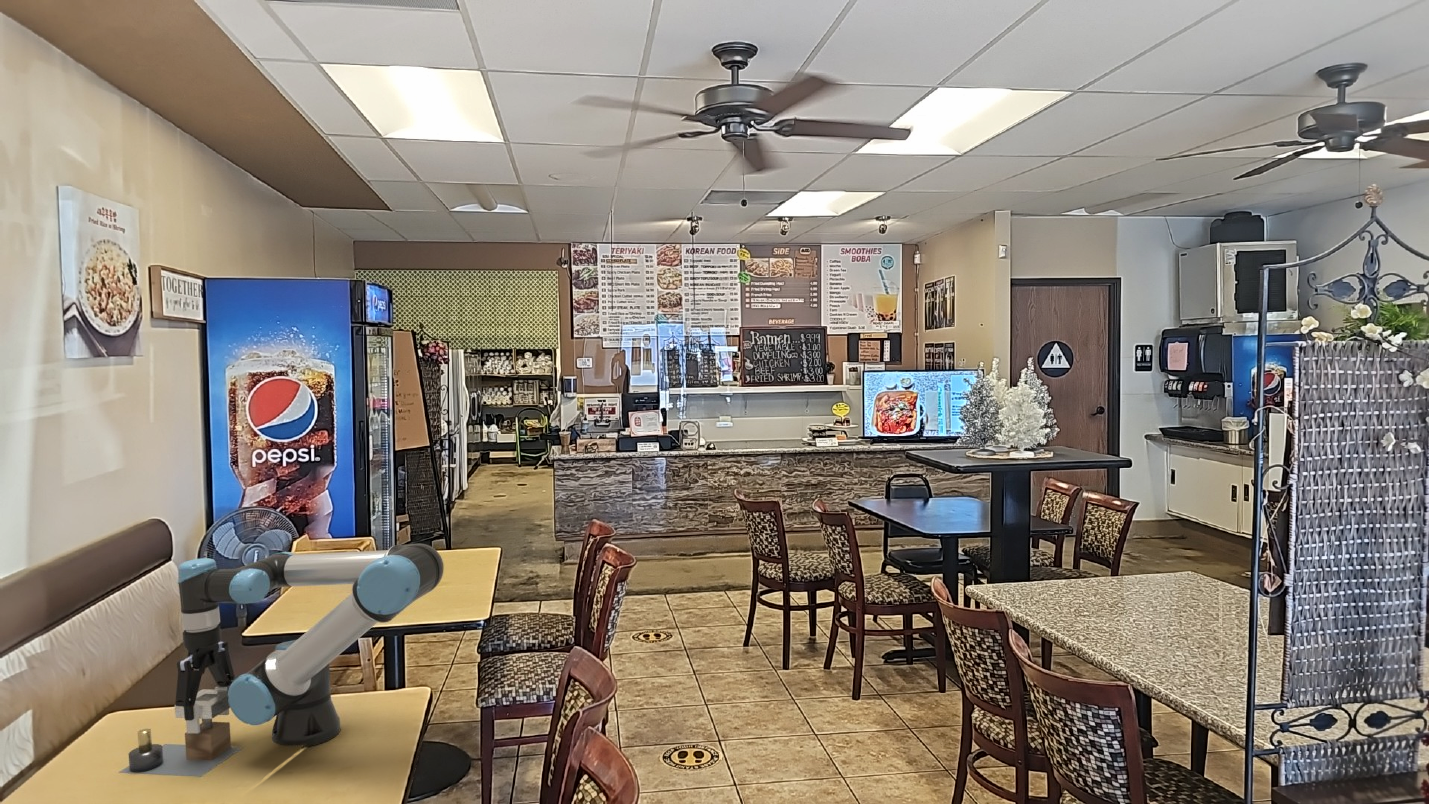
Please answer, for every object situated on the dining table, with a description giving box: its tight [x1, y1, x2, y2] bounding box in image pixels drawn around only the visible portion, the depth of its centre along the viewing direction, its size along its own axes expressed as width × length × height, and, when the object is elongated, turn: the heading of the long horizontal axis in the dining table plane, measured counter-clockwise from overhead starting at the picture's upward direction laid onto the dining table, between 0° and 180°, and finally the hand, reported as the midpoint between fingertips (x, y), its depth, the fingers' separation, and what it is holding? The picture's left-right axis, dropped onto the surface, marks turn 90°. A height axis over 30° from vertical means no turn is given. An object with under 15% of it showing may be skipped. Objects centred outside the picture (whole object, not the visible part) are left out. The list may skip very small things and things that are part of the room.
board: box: [118, 743, 243, 778], centre depth 202 cm, size 20×14×1 cm
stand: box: [184, 718, 232, 760], centre depth 204 cm, size 6×6×10 cm
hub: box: [128, 728, 163, 774], centre depth 199 cm, size 6×6×8 cm
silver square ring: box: [174, 688, 231, 720], centre depth 204 cm, size 9×9×3 cm
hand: (208, 723), depth 204 cm, fingers closed on silver square ring, 9 cm apart
